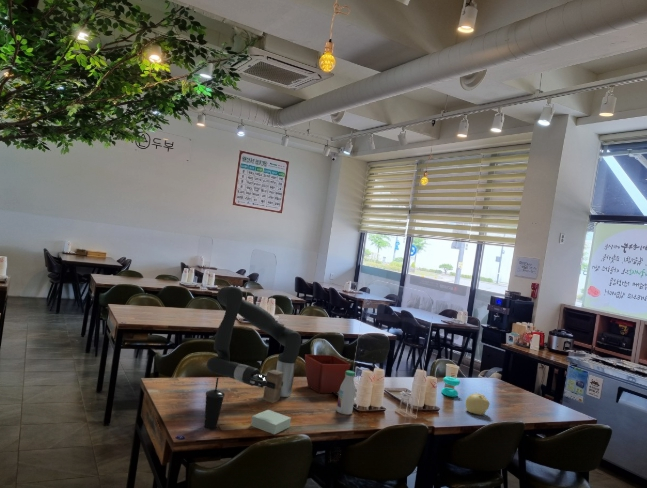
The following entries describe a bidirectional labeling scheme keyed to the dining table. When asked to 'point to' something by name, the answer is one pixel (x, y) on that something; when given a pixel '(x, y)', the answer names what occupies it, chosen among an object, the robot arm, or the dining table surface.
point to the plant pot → (325, 372)
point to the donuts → (451, 382)
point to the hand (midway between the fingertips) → (278, 385)
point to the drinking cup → (213, 407)
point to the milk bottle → (346, 394)
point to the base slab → (270, 421)
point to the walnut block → (276, 378)
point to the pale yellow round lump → (477, 404)
